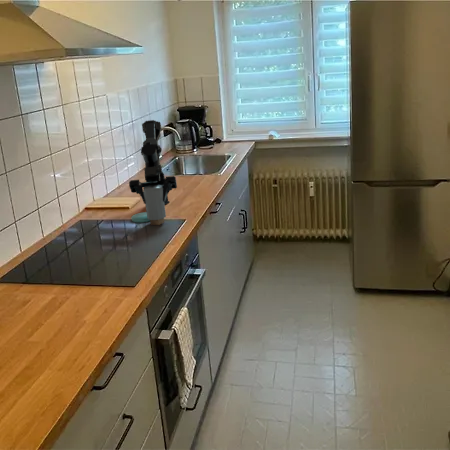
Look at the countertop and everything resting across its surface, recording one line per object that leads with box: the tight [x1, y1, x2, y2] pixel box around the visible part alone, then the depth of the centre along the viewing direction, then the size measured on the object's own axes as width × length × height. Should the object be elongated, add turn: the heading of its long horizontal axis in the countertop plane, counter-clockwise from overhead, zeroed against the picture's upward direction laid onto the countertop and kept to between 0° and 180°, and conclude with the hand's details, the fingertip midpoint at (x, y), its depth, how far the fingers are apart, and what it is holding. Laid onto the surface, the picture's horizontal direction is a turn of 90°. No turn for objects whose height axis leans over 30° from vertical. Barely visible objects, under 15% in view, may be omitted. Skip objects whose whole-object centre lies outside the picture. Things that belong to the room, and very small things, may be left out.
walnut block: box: [149, 218, 165, 226], centre depth 207 cm, size 4×4×4 cm
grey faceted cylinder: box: [143, 185, 167, 220], centre depth 205 cm, size 7×7×12 cm
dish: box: [130, 211, 150, 224], centre depth 216 cm, size 11×11×1 cm
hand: (154, 202), depth 203 cm, fingers closed on grey faceted cylinder, 7 cm apart
